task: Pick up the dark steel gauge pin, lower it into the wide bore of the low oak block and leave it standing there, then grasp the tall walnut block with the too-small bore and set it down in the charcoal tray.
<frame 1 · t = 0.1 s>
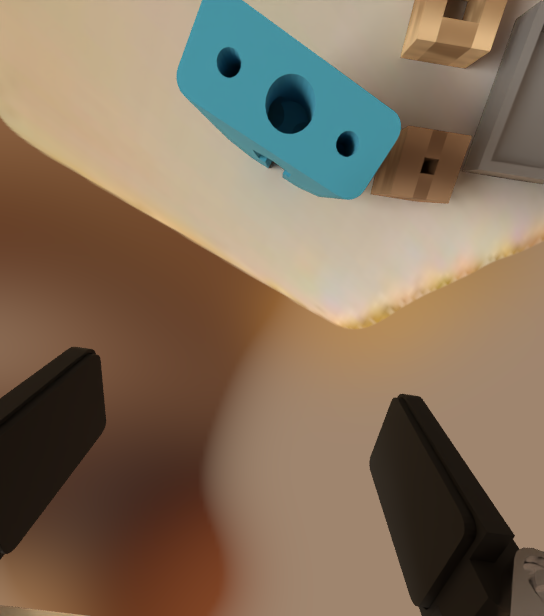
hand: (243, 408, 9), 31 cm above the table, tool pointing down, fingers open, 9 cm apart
oak block: (444, 20, 29), on the table
walnut block: (401, 171, 34), on the table
block: (286, 153, 34), on the table
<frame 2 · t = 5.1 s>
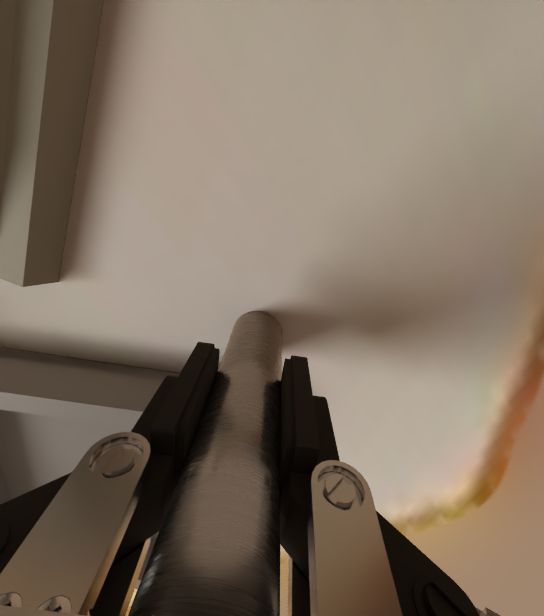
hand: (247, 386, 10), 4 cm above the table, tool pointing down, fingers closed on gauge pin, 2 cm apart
gauge pin: (257, 333, 14), on the table, touching gripper
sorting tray: (108, 457, 18), on the table
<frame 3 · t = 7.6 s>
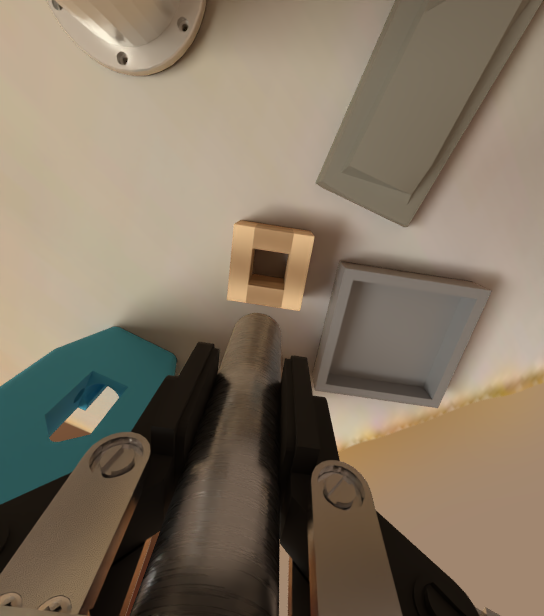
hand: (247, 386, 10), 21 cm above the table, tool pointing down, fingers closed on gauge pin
oak block: (270, 260, 30), on the table
gauge pin: (257, 335, 14), point 17 cm above the table, touching gripper
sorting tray: (386, 331, 32), on the table
block: (139, 355, 35), on the table
soap mold: (416, 92, 25), on the table
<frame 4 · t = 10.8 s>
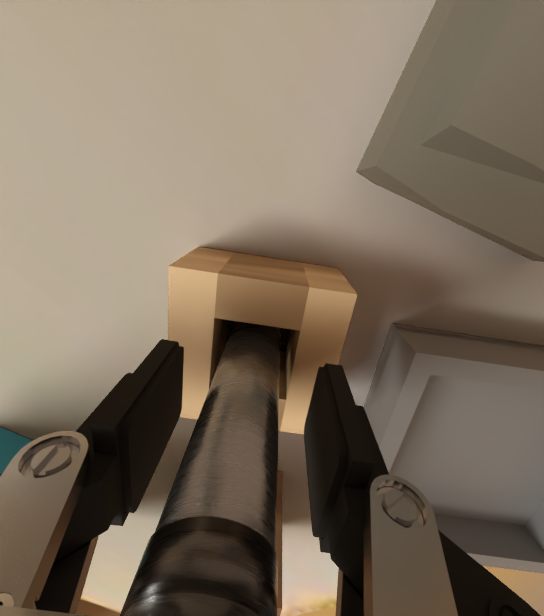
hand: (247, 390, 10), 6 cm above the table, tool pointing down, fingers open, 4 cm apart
oak block: (259, 321, 16), on the table
walnut block: (234, 495, 21), on the table
gauge pin: (258, 321, 16), resting in oak block
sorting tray: (467, 439, 18), on the table
block: (42, 466, 21), on the table
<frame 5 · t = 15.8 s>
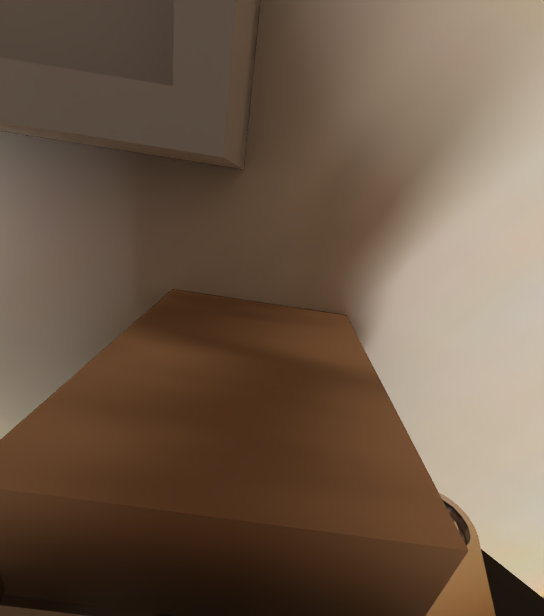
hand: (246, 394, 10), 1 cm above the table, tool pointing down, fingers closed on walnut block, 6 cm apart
walnut block: (249, 375, 11), on the table, touching gripper
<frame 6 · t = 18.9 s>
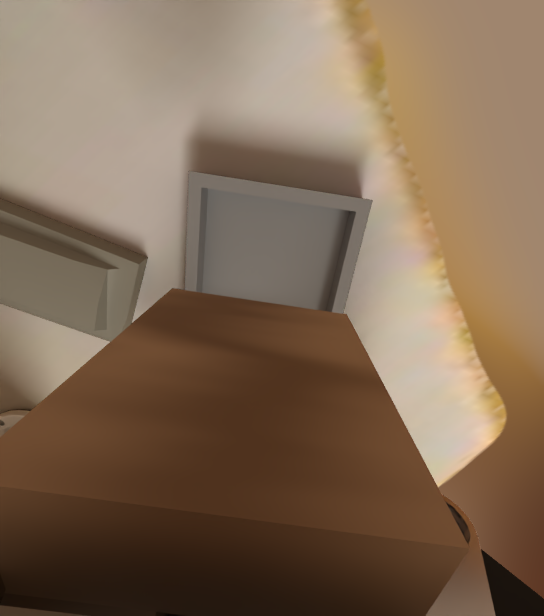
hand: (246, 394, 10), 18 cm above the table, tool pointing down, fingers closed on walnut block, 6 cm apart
walnut block: (249, 374, 11), point 17 cm above the table, touching gripper
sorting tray: (269, 266, 27), on the table
soap mold: (42, 262, 29), on the table
when the fingers open (3 cm above the table, at t = 21.9 s): walnut block drops 2 cm, resting on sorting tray.
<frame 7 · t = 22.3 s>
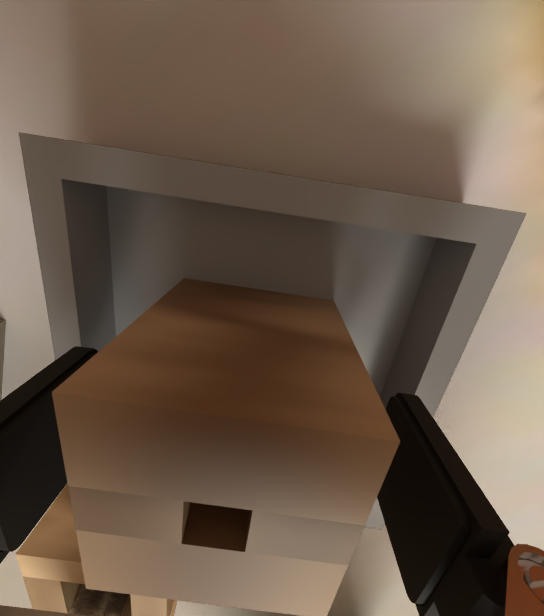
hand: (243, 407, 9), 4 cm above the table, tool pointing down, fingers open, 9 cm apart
oak block: (135, 520, 18), on the table
walnut block: (250, 354, 13), point 1 cm above the table, touching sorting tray
gauge pin: (136, 521, 18), resting in oak block
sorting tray: (255, 343, 13), on the table
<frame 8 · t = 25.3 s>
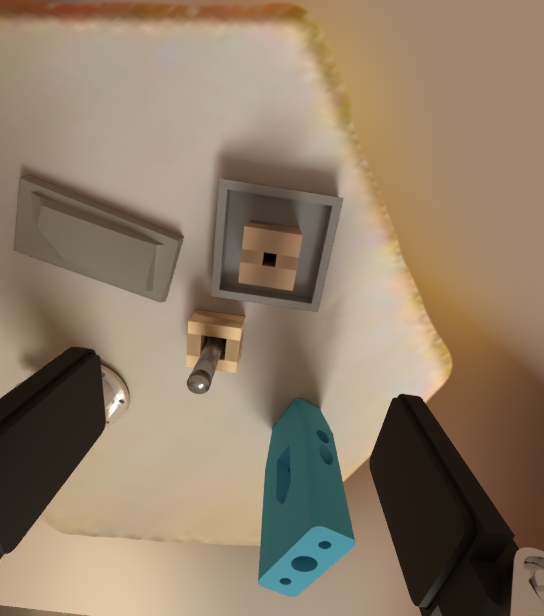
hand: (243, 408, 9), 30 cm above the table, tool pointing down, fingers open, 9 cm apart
oak block: (219, 334, 42), on the table
walnut block: (271, 247, 37), point 1 cm above the table, touching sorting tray
gauge pin: (219, 334, 42), resting in oak block
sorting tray: (273, 246, 37), on the table
block: (295, 419, 48), on the table
soap mold: (105, 242, 39), on the table
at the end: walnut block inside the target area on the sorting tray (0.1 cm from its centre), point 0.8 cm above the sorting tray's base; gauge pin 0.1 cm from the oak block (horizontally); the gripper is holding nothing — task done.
